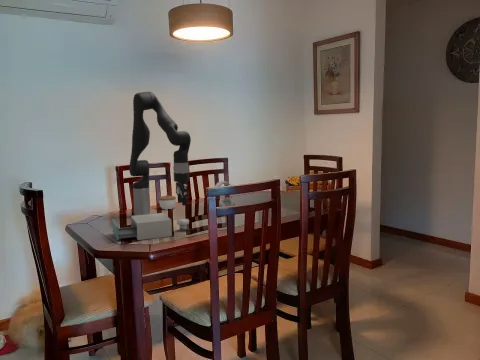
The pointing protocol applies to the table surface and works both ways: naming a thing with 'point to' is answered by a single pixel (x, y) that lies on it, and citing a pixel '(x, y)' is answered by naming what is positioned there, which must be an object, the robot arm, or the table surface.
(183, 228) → the stand
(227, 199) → the headphones
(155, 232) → the housing
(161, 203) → the lidded jar
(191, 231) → the table surface
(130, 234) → the grey drawer
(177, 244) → the table surface
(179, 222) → the disc
